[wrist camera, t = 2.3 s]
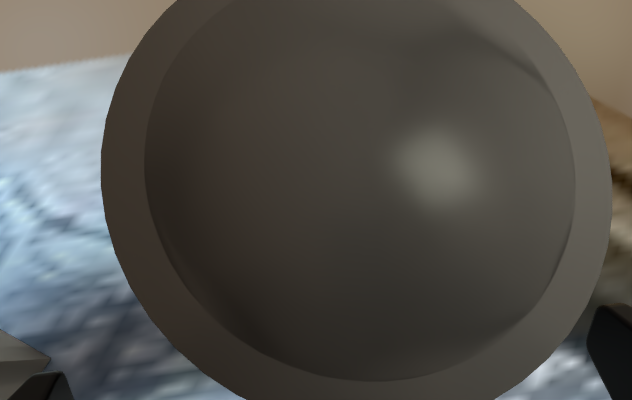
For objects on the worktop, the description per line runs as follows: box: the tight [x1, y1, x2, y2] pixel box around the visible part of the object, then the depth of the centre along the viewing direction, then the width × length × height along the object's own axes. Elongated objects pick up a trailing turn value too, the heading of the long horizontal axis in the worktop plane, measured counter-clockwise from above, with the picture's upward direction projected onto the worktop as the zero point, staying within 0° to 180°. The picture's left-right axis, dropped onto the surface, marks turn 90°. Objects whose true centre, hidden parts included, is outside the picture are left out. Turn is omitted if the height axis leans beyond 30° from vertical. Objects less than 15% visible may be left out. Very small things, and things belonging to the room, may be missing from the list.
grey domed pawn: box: [101, 0, 612, 400], centre depth 12 cm, size 5×5×14 cm
